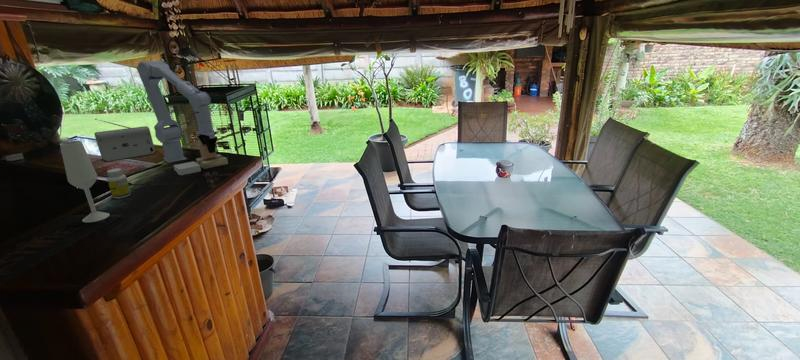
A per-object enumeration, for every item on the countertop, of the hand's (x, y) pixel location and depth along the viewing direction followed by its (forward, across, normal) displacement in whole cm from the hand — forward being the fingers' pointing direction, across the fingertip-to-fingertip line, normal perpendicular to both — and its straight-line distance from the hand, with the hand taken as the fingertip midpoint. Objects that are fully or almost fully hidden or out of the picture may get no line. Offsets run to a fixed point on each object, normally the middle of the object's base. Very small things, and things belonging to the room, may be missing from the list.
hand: (210, 151), depth 158 cm
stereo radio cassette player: (+6, -40, -24) cm, 47 cm away
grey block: (+6, +3, -11) cm, 13 cm away
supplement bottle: (+6, +16, -36) cm, 40 cm away
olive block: (+6, 0, 0) cm, 6 cm away
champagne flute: (+6, +31, -45) cm, 55 cm away
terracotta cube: (+2, 0, -1) cm, 2 cm away
